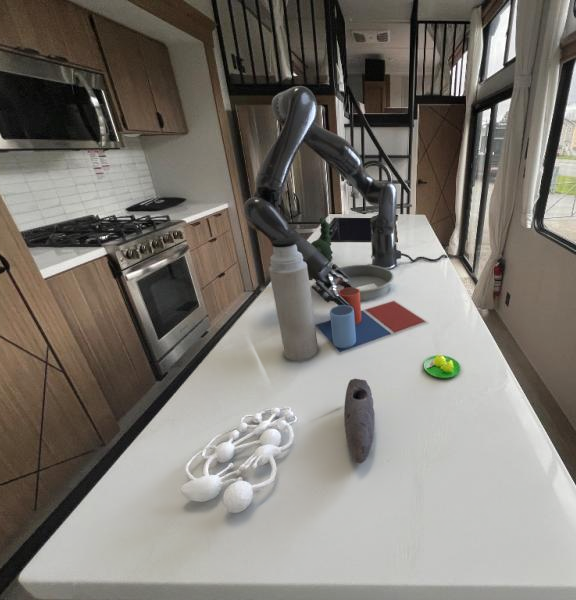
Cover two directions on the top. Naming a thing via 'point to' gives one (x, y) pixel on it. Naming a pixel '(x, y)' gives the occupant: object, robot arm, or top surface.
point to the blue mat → (358, 331)
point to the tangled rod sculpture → (240, 491)
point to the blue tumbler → (343, 326)
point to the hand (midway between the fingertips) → (351, 300)
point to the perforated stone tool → (359, 419)
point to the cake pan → (368, 280)
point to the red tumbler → (352, 301)
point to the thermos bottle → (293, 300)
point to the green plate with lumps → (443, 366)
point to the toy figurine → (324, 240)
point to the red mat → (395, 316)
